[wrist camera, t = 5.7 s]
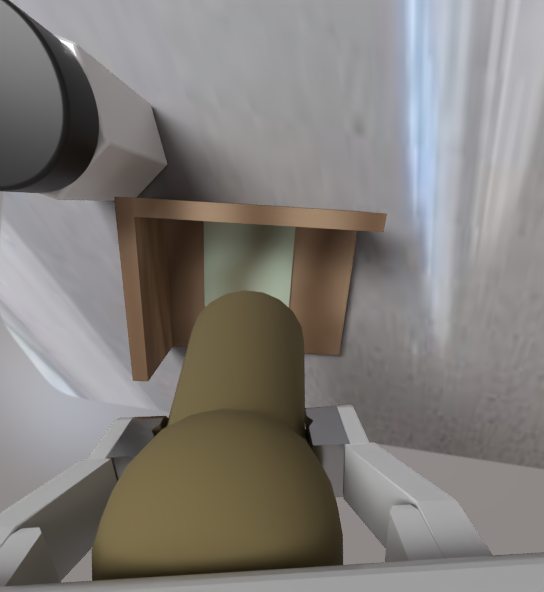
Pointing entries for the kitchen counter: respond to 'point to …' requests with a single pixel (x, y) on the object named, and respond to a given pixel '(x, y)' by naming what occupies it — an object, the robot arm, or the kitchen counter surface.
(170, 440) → the olive pepper mill
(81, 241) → the kitchen counter surface
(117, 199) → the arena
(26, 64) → the jar
